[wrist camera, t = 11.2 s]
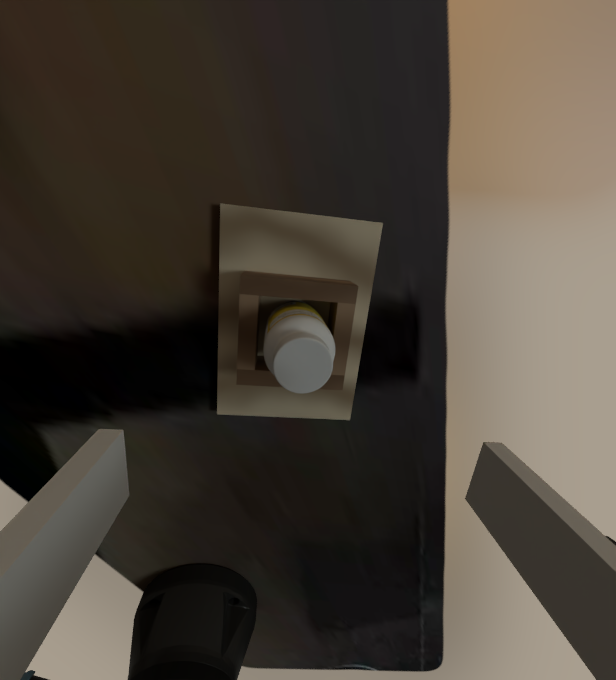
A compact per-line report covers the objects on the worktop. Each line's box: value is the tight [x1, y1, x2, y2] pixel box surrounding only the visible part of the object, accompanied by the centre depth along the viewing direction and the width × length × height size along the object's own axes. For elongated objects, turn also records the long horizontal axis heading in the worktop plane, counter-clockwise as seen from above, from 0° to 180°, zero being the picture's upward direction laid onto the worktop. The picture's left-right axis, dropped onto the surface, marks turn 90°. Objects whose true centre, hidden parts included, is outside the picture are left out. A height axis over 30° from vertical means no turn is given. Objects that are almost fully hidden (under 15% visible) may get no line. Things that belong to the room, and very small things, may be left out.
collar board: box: [217, 204, 383, 420], centre depth 28 cm, size 20×14×4 cm
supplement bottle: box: [263, 301, 335, 394], centre depth 24 cm, size 5×5×10 cm
